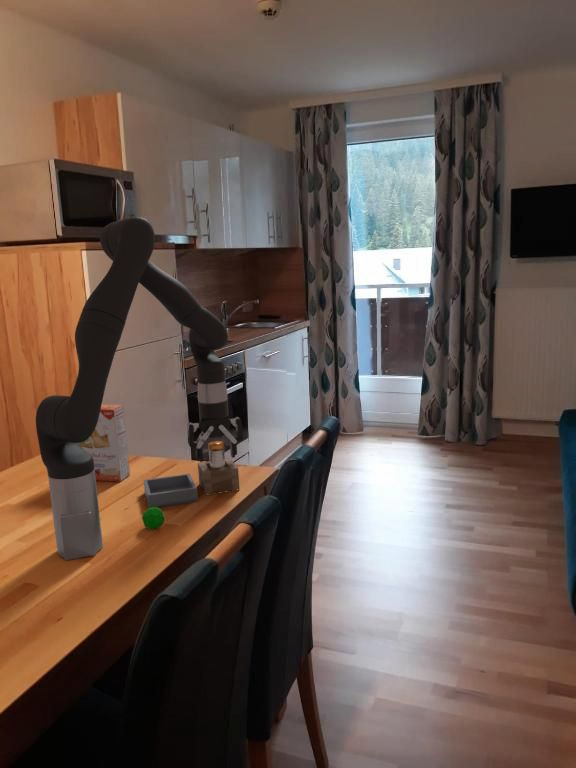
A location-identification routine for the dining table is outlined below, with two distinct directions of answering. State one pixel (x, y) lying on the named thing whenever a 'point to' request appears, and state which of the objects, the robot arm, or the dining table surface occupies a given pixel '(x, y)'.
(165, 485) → the slate tray
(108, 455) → the cracker box
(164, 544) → the dining table surface
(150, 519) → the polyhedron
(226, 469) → the wooden crate
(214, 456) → the gold capped jar
